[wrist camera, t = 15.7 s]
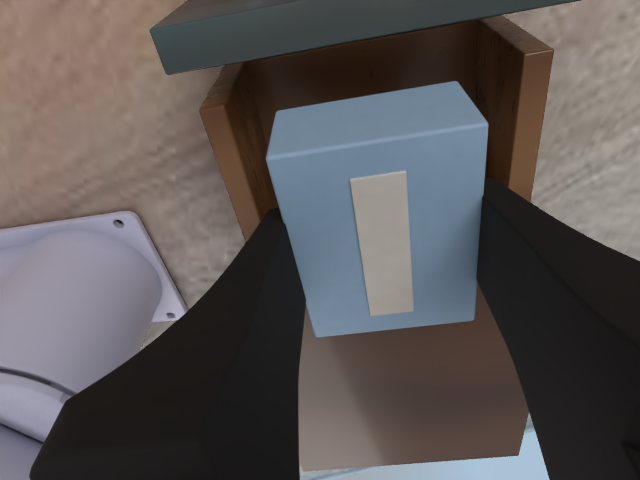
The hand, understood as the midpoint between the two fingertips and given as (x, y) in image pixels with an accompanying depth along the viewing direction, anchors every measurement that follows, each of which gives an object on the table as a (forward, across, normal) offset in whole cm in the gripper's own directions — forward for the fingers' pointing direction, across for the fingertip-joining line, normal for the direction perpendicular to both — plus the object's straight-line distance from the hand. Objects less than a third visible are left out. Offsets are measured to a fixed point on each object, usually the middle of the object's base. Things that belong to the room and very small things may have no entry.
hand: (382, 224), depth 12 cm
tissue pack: (+1, 0, 0) cm, 1 cm away
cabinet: (+9, 0, +12) cm, 15 cm away
